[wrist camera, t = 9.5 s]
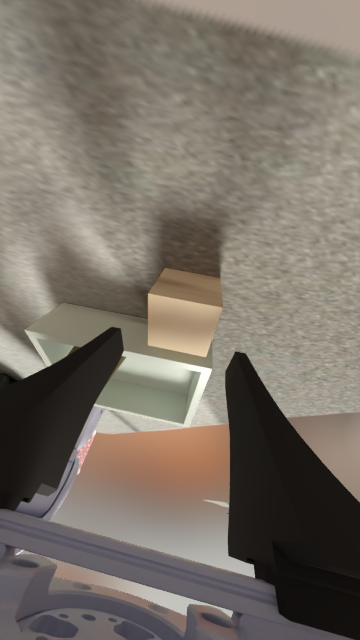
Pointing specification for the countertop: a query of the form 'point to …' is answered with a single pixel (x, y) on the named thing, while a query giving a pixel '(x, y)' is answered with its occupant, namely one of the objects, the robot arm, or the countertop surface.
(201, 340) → the maple cube
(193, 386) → the tote
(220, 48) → the countertop surface
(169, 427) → the countertop surface
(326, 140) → the countertop surface
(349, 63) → the countertop surface
